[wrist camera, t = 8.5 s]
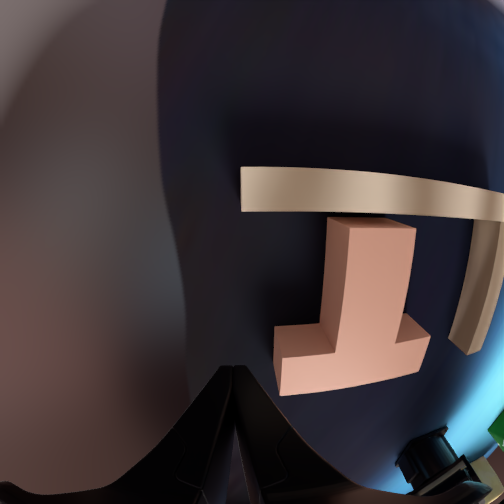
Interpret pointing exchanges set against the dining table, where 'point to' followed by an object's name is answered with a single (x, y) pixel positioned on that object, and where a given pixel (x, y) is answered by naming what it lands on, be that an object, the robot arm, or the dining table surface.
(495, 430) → the milk carton
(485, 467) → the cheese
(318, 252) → the dining table surface
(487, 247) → the wooden l block
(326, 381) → the t block
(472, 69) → the dining table surface
